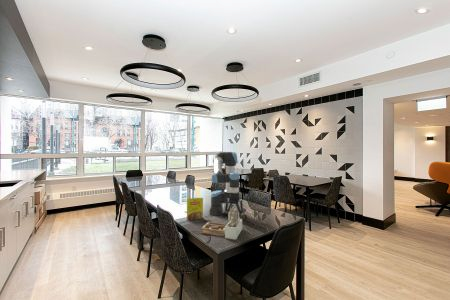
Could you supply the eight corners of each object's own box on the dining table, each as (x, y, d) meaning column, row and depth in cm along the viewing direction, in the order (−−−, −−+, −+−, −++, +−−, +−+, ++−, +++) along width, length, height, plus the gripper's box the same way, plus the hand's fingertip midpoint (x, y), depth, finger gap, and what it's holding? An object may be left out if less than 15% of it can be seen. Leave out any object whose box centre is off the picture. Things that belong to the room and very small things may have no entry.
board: (230, 235, 166) (230, 212, 166) (234, 229, 178) (234, 208, 177) (233, 235, 166) (233, 212, 165) (237, 229, 177) (237, 208, 177)
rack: (208, 226, 187) (208, 221, 187) (228, 228, 181) (229, 224, 181) (201, 233, 172) (201, 228, 172) (223, 236, 166) (223, 231, 166)
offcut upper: (211, 228, 177) (211, 225, 177) (218, 228, 177) (218, 225, 177) (211, 229, 174) (211, 227, 174) (218, 229, 174) (218, 227, 174)
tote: (232, 228, 183) (232, 218, 182) (242, 229, 180) (242, 219, 180) (224, 238, 163) (225, 226, 163) (235, 239, 160) (235, 228, 160)
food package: (187, 219, 203) (187, 198, 203) (186, 219, 204) (187, 198, 204) (202, 218, 207) (203, 197, 207) (202, 217, 208) (202, 197, 208)
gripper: (220, 192, 170) (220, 220, 171) (245, 194, 164) (245, 223, 165) (223, 190, 178) (223, 217, 178) (247, 192, 171) (247, 220, 172)
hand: (234, 220), depth 171 cm, fingers open, 7 cm apart
